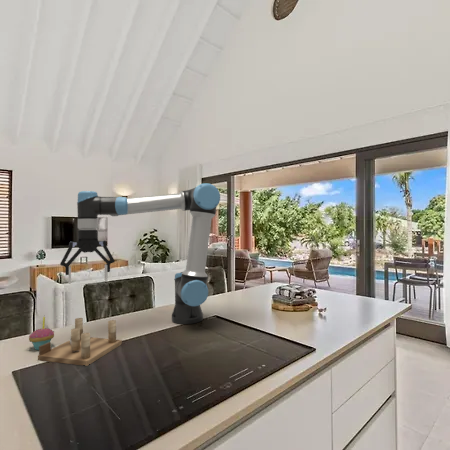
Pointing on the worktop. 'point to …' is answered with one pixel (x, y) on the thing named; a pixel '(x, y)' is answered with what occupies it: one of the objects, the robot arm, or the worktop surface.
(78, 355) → the wooden peg board
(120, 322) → the worktop surface
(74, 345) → the gray bar with post
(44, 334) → the cupcake
